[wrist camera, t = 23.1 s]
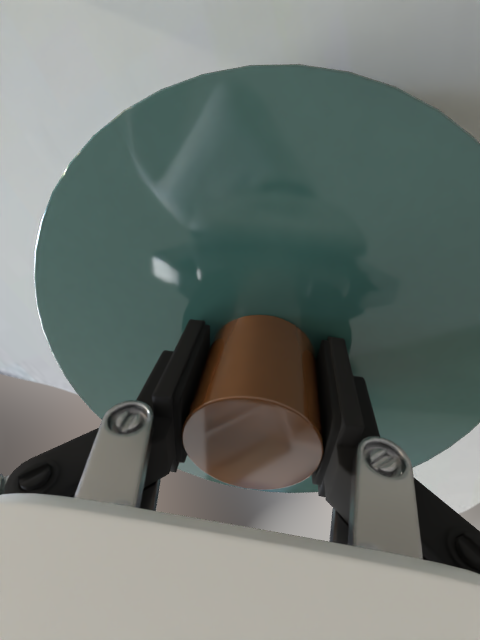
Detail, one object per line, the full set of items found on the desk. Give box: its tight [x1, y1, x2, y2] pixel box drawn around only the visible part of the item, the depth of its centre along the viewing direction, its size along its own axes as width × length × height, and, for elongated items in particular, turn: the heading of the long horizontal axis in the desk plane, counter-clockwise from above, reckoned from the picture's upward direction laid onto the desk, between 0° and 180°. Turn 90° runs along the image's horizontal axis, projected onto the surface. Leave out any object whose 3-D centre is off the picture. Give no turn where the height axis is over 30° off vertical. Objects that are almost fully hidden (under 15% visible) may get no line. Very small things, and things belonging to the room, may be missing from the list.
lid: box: [34, 64, 480, 493], centre depth 11 cm, size 18×18×5 cm
